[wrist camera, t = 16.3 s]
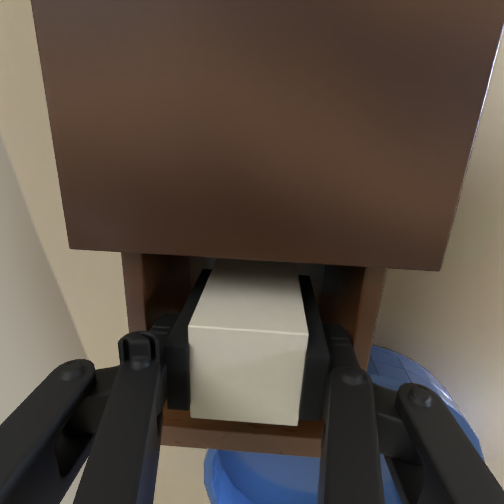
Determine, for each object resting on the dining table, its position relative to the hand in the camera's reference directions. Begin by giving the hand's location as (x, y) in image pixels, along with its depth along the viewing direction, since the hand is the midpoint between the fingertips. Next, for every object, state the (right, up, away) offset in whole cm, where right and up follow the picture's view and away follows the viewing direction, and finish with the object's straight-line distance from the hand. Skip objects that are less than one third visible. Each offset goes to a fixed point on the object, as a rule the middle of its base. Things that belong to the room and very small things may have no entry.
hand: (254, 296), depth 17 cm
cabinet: (+1, +12, +1) cm, 12 cm away
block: (0, 0, +1) cm, 1 cm away
